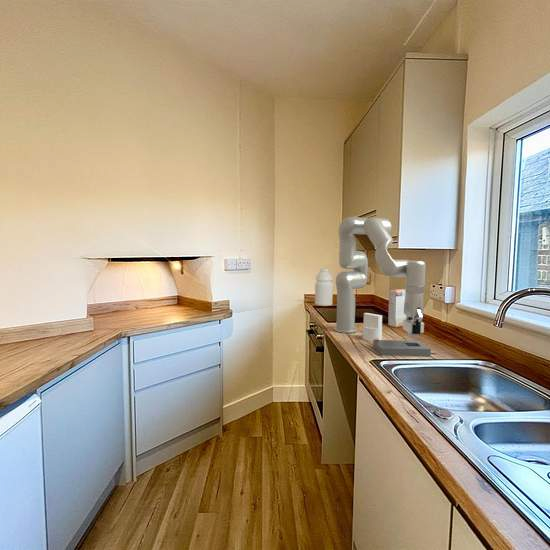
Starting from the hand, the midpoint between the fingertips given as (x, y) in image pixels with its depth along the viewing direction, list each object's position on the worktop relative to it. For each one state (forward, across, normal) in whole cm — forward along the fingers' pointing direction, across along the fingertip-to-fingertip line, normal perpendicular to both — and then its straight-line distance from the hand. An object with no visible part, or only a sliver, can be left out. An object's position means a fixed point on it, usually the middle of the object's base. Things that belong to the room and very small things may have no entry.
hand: (412, 331), depth 144 cm
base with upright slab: (+9, -20, -12) cm, 25 cm away
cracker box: (+9, -50, +12) cm, 52 cm away
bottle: (+9, -120, -24) cm, 123 cm away
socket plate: (+9, 0, -5) cm, 10 cm away
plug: (+2, 0, 0) cm, 2 cm away
